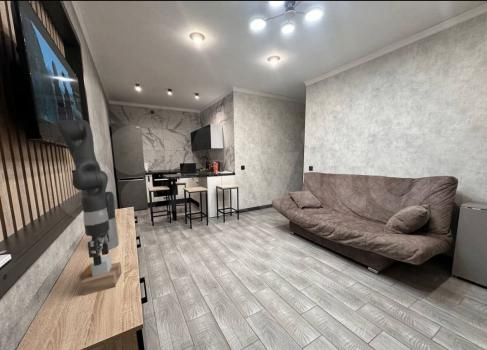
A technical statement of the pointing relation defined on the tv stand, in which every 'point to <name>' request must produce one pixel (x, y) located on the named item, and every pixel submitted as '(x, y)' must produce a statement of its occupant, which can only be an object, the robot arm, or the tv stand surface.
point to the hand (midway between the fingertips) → (101, 259)
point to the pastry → (87, 271)
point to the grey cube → (102, 266)
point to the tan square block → (102, 280)
